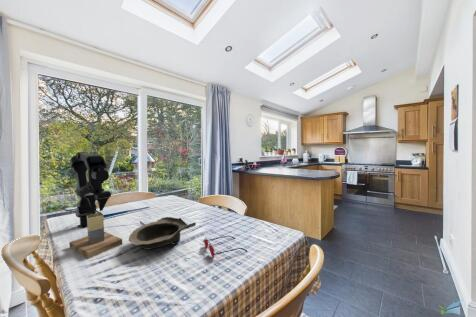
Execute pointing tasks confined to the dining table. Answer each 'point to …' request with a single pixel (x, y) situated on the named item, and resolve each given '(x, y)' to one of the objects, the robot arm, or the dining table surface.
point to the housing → (95, 228)
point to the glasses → (213, 248)
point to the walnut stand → (95, 245)
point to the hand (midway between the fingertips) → (96, 209)
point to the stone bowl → (158, 233)
